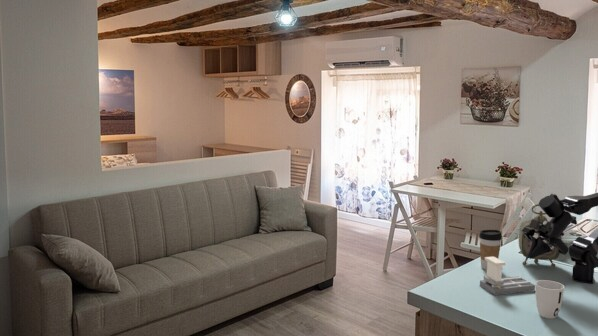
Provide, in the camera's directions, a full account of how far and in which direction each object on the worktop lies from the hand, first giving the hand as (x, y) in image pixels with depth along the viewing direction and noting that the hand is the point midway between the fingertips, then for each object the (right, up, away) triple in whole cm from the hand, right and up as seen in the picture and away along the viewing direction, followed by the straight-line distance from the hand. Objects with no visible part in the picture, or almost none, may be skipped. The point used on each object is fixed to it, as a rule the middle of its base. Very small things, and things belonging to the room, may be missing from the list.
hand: (529, 257), depth 187 cm
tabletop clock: (+14, -7, +25) cm, 29 cm away
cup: (-4, -14, -22) cm, 27 cm away
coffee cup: (-7, -8, +21) cm, 23 cm away
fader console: (-8, -11, 0) cm, 13 cm away
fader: (-13, -8, -2) cm, 16 cm away
